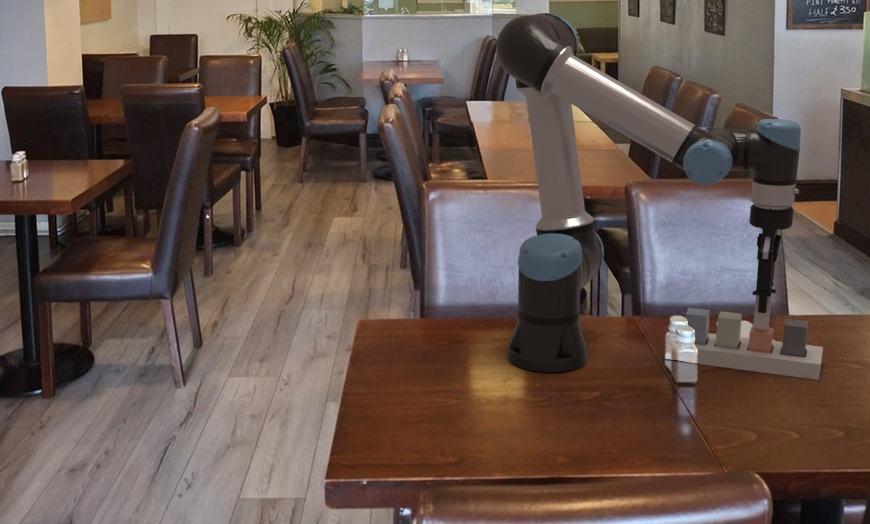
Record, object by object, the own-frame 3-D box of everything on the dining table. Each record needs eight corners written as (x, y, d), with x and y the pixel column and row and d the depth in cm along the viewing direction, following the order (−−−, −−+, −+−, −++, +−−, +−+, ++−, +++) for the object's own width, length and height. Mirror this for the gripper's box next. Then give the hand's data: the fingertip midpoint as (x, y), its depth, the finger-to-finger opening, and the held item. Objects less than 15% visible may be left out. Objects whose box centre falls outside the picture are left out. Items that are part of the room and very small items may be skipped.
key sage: (715, 347, 198) (717, 317, 197) (718, 340, 202) (720, 311, 200) (737, 350, 197) (739, 319, 195) (739, 343, 200) (741, 313, 199)
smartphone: (746, 346, 206) (714, 322, 220) (745, 350, 206) (714, 325, 220) (780, 344, 207) (746, 320, 221) (780, 348, 207) (746, 323, 221)
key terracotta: (747, 362, 197) (749, 332, 195) (749, 355, 200) (751, 325, 199) (769, 364, 195) (771, 334, 194) (771, 358, 199) (773, 328, 197)
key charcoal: (781, 355, 194) (784, 325, 192) (783, 348, 198) (785, 318, 196) (804, 358, 192) (807, 327, 191) (805, 351, 196) (808, 321, 194)
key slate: (683, 343, 201) (685, 313, 199) (687, 336, 204) (688, 307, 203) (704, 346, 199) (706, 316, 197) (707, 339, 203) (709, 310, 201)
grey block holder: (664, 359, 200) (665, 344, 199) (673, 343, 209) (674, 329, 208) (819, 379, 189) (820, 364, 189) (821, 361, 198) (823, 346, 198)
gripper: (791, 214, 183) (778, 340, 189) (796, 199, 194) (784, 319, 201) (747, 210, 185) (736, 335, 192) (754, 196, 197) (744, 314, 203)
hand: (760, 327), depth 196 cm, fingers closed
